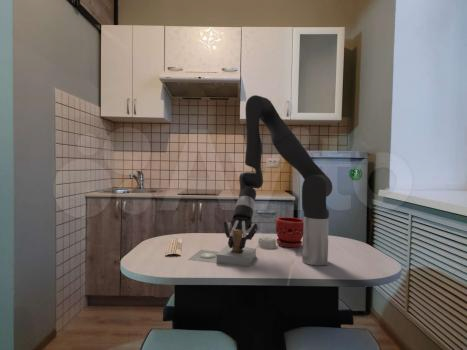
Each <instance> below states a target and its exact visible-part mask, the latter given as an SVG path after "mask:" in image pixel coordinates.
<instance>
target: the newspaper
mask: <svg viewBox="0 0 467 350" xmlns="http://www.w3.org/2000/svg"><path fill="white" fill-rule="evenodd" d="M182 247H183V239H182V238H178V237H175V238H170V239H169V242H168V244H167V248H166V252H165V257H168V255H178V256H179V257H181V256H182Z"/></svg>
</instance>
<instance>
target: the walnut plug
mask: <svg viewBox="0 0 467 350" xmlns="http://www.w3.org/2000/svg"><path fill="white" fill-rule="evenodd" d="M242 238H243V233H242V230H241V229H233V240H232V253H240V254H242V249H240V244H241V239H242Z"/></svg>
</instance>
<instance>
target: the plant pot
mask: <svg viewBox="0 0 467 350" xmlns="http://www.w3.org/2000/svg"><path fill="white" fill-rule="evenodd" d="M275 231H276V236H277V238H276V244H277V245H278V246H282V247H286V248H298V247H301V245H303V219H302V218H296V217H288V216H287V217H286V216H282V217H277V218H276V221H275Z"/></svg>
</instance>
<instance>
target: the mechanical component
mask: <svg viewBox="0 0 467 350" xmlns="http://www.w3.org/2000/svg"><path fill="white" fill-rule="evenodd" d="M276 240H277V238H274V237H272V236H260V237H258V240H257V241H258V242H256V243H255V244H254V245H255V247H257V248H260V249H266V250H267V249H268V250H271V249H272V250H273V249H278V248H279V244H278V243H277V241H276Z"/></svg>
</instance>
